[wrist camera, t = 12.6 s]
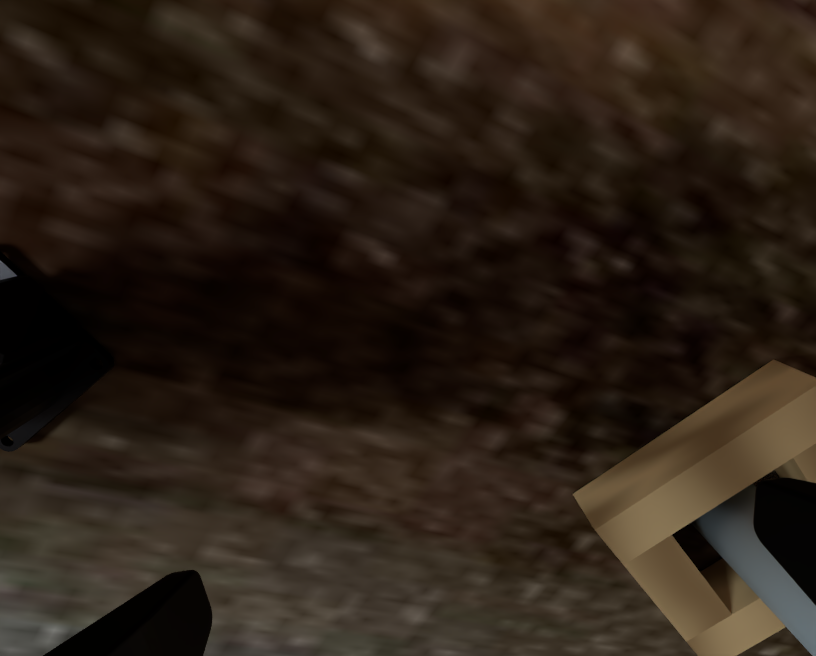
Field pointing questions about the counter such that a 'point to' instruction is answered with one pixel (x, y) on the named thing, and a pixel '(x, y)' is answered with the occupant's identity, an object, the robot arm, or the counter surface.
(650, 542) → the wooden square frame
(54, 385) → the robot arm
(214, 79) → the counter surface
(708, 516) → the blue-grey cylinder
